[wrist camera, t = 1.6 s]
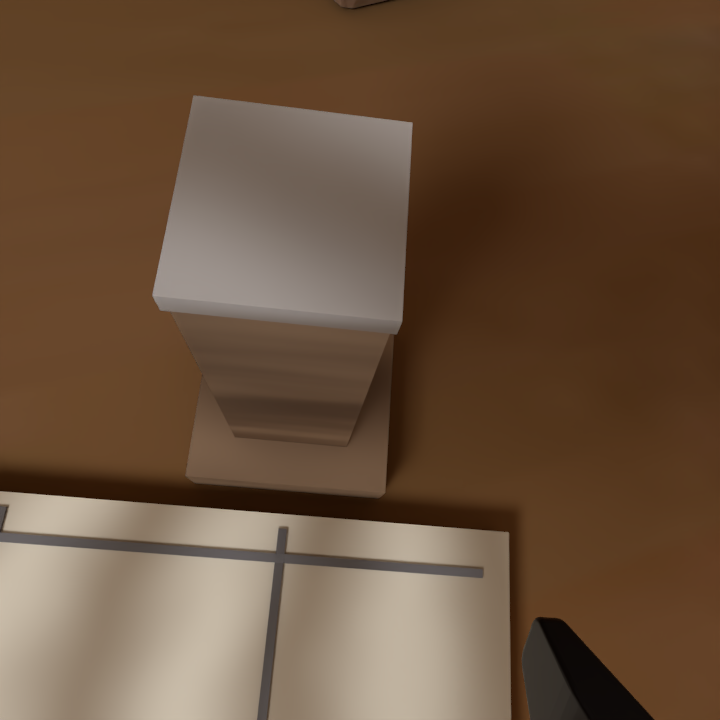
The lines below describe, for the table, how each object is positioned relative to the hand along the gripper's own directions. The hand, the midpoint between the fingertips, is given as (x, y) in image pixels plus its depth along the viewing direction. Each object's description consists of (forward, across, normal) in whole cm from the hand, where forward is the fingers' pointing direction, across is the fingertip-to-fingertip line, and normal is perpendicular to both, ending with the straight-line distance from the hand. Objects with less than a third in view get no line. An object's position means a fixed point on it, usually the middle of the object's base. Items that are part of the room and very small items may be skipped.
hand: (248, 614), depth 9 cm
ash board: (+8, +5, +10) cm, 14 cm away
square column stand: (+14, 0, +4) cm, 15 cm away
